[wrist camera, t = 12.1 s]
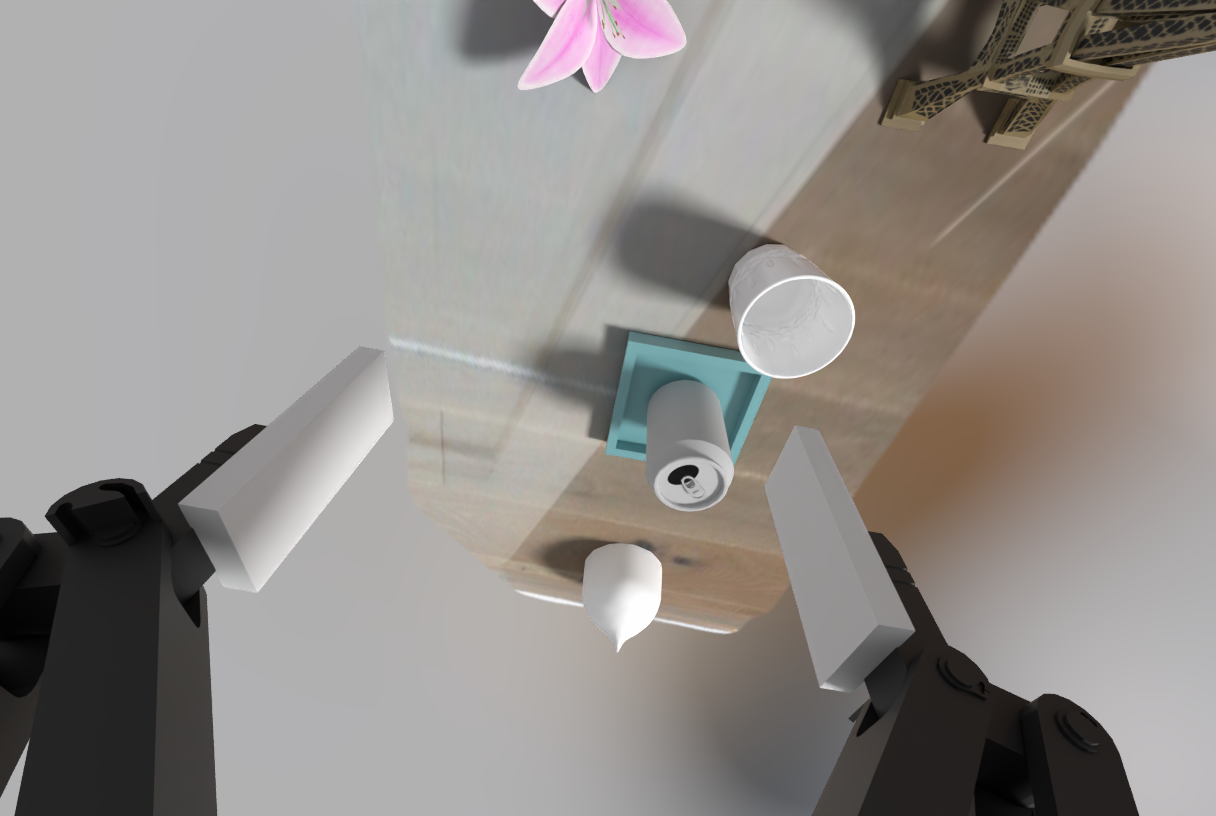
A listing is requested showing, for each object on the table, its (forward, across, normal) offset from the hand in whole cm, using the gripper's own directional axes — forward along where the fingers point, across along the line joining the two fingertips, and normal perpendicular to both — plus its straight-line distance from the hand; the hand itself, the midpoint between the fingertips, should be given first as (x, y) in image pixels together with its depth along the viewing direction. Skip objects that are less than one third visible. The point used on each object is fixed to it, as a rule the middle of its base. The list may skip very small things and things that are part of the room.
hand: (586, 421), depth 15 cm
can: (+28, +9, -17) cm, 34 cm away
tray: (+29, +9, -17) cm, 35 cm away
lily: (+29, -4, +13) cm, 32 cm away
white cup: (+29, +13, -3) cm, 32 cm away
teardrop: (+29, +8, -46) cm, 55 cm away
